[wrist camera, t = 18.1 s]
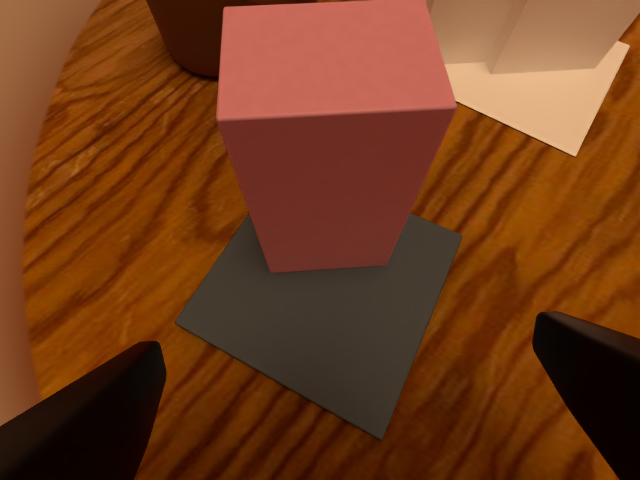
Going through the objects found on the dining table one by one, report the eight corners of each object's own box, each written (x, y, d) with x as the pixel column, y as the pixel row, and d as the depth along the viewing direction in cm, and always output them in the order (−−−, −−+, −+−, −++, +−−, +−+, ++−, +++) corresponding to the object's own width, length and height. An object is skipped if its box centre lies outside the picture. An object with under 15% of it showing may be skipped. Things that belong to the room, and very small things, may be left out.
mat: (380, 440, 15) (382, 441, 14) (177, 325, 17) (173, 322, 16) (459, 240, 19) (463, 235, 18) (286, 165, 21) (285, 158, 20)
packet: (387, 266, 17) (458, 106, 8) (270, 273, 17) (214, 119, 8) (375, 193, 19) (425, -4, 10) (269, 200, 19) (222, 5, 10)
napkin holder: (631, 43, 25) (712, -54, 20) (578, 157, 21) (663, 73, 16) (429, -31, 28) (453, -130, 23) (351, 54, 24) (359, -43, 19)
